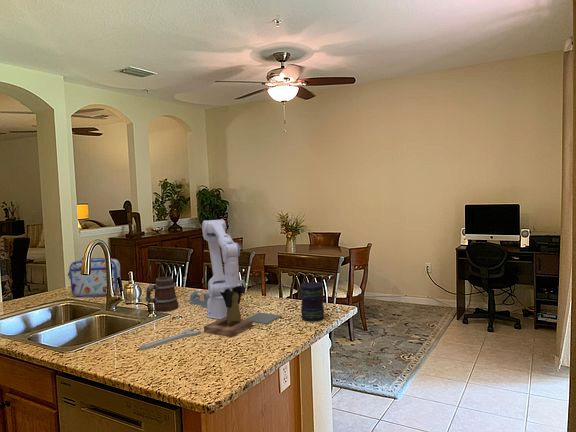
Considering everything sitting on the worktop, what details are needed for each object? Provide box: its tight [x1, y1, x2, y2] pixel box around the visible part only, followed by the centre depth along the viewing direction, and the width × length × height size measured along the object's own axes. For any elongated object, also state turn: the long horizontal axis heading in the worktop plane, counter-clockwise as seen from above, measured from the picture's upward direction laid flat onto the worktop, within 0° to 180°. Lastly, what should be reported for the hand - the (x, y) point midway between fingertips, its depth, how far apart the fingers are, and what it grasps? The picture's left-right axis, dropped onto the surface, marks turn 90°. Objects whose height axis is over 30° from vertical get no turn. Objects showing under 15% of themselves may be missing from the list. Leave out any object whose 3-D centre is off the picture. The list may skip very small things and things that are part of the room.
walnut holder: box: [203, 317, 253, 338], centre depth 176 cm, size 14×14×2 cm
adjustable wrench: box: [138, 328, 201, 351], centre depth 166 cm, size 25×6×2 cm, turn 131°
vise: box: [183, 289, 210, 309], centre depth 218 cm, size 18×10×7 cm, turn 46°
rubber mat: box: [243, 311, 283, 325], centre depth 189 cm, size 12×12×1 cm
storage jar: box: [300, 281, 325, 323], centre depth 186 cm, size 10×10×15 cm
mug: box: [144, 276, 179, 312], centre depth 209 cm, size 16×12×15 cm
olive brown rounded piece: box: [226, 292, 242, 321], centre depth 177 cm, size 6×6×11 cm
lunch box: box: [67, 257, 121, 298], centre depth 243 cm, size 28×10×22 cm, turn 93°
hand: (233, 305), depth 177 cm, fingers closed on olive brown rounded piece, 5 cm apart
